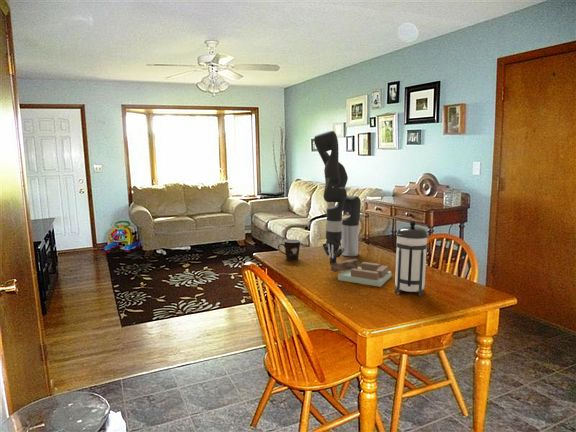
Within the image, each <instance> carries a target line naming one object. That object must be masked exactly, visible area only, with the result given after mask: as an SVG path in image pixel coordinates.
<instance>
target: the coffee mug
mask: <svg viewBox="0 0 576 432" xmlns="http://www.w3.org/2000/svg"><path fill="white" fill-rule="evenodd" d="M281 246H283V247H284V250H285V252H283V251H282V250H281V249H280V247H281ZM300 247H301V240H300V239H293V238H289V239H285V240H284V243H280V244H279V245H278V246H277V250H278V251H279V252H280V253H282V254H284V256H285V259H286V260H287V261H290V262H291V261H298V260H299V254H300Z"/></svg>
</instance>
